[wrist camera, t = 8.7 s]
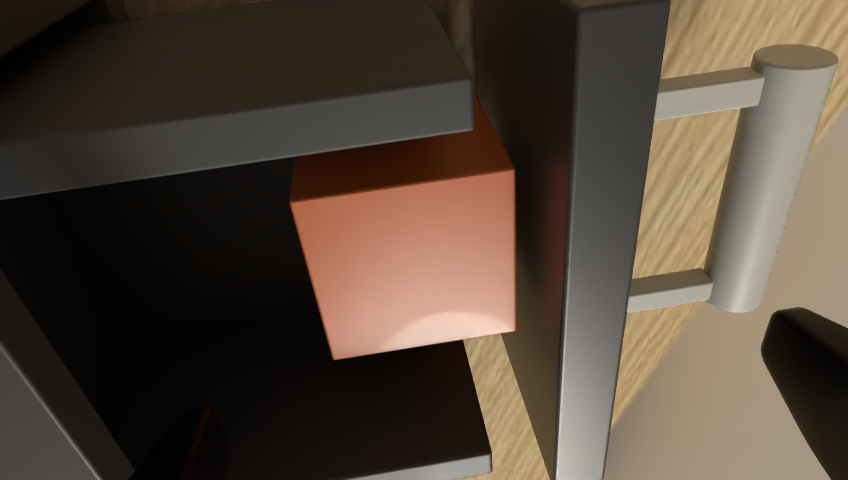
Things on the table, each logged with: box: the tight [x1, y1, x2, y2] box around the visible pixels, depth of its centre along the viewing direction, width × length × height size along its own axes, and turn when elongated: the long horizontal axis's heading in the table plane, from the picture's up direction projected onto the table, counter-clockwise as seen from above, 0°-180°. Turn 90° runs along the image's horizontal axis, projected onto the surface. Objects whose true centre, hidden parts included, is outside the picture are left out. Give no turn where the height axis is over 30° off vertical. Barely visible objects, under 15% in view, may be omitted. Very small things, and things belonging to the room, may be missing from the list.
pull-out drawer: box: [0, 0, 838, 480], centre depth 13 cm, size 17×10×7 cm, turn 96°
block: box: [289, 92, 517, 360], centre depth 13 cm, size 4×4×4 cm
